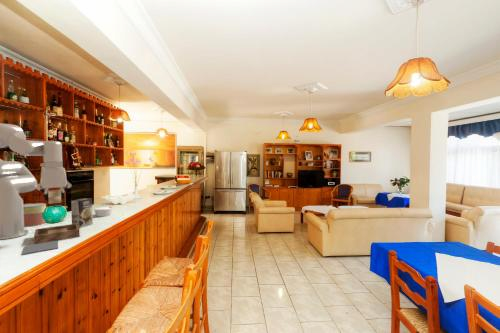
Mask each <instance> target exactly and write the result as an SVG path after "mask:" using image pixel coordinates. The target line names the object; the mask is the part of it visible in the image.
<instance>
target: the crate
mask: <svg viewBox="0 0 500 333" xmlns="http://www.w3.org/2000/svg"><path fill="white" fill-rule="evenodd" d="M80 237H81V236H80V228H79V226H78V223H77V224H72V223H71V224H63V225H57V226H56V225H55V226H50V227H42V228H35V231H34V235H33V245H34V244H40V243H46V242H52V241H62V240H68V239H74V238H80Z"/></svg>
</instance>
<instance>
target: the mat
mask: <svg viewBox="0 0 500 333" xmlns="http://www.w3.org/2000/svg"><path fill="white" fill-rule="evenodd" d="M57 249H59V240H57V241H51V242H45V243H39V244H34V243H33V244H28V245H25V246H24V249H23V251H22V256H26V255H30V254H37V253H41V252H46V251H52V250H57Z"/></svg>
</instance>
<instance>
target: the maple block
mask: <svg viewBox="0 0 500 333" xmlns="http://www.w3.org/2000/svg"><path fill="white" fill-rule="evenodd" d="M48 197H49V202H48V204H60V203H62V201H61V189H55V190H54V189H53V190H51V189H50V190H48Z"/></svg>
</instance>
